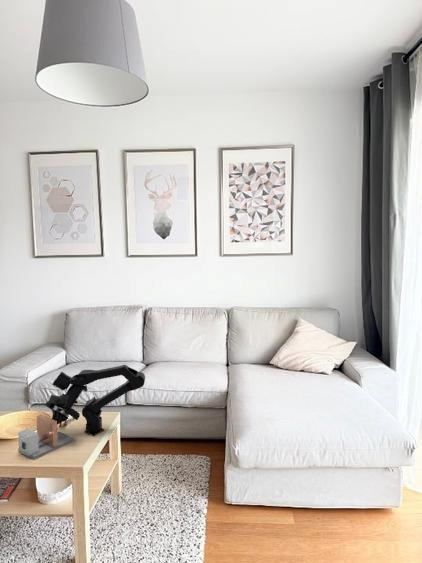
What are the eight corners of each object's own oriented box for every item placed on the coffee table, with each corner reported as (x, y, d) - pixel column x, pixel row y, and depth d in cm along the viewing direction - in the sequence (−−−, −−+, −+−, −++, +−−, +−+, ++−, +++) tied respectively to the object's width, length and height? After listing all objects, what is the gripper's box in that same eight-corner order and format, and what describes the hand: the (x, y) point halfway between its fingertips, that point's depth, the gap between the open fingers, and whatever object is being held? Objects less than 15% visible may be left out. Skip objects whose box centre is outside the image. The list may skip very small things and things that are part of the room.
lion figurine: (65, 430, 176) (65, 411, 176) (54, 430, 176) (54, 411, 176) (77, 417, 191) (77, 399, 190) (67, 416, 191) (66, 399, 190)
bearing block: (28, 446, 158) (27, 428, 158) (38, 451, 154) (38, 433, 153) (18, 450, 155) (18, 432, 155) (29, 456, 150) (28, 437, 150)
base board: (59, 433, 173) (58, 431, 172) (75, 440, 166) (74, 438, 166) (18, 451, 157) (18, 448, 157) (34, 459, 150) (34, 456, 150)
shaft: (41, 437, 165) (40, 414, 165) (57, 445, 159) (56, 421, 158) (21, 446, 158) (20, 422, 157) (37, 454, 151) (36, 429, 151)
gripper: (48, 383, 171) (25, 415, 163) (73, 391, 160) (50, 425, 152) (64, 394, 178) (43, 426, 170) (88, 403, 167) (67, 436, 159)
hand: (50, 428), depth 162 cm, fingers closed
